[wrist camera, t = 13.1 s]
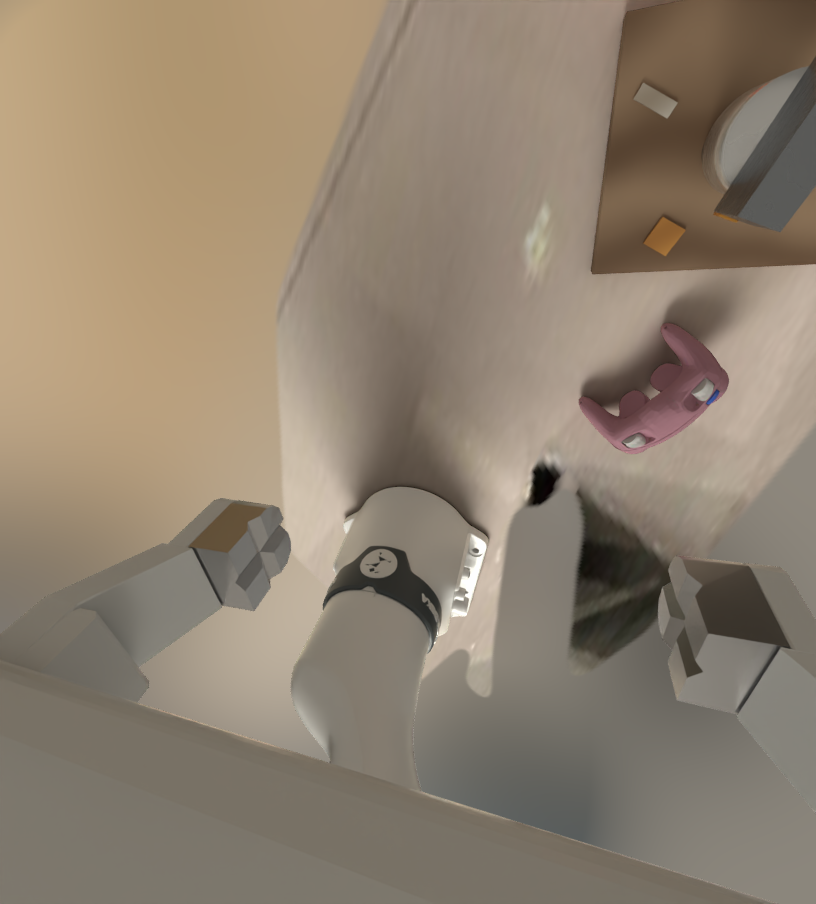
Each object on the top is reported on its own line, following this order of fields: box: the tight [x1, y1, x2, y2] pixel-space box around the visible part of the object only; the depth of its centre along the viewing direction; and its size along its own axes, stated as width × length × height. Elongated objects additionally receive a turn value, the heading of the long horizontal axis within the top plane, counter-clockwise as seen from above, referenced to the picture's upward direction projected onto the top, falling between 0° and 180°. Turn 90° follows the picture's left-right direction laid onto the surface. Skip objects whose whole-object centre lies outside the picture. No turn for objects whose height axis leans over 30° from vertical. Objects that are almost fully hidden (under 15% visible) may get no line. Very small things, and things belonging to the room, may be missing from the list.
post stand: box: [591, 0, 816, 274], centre depth 25 cm, size 14×14×5 cm
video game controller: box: [579, 323, 729, 454], centre depth 34 cm, size 10×5×7 cm, turn 147°
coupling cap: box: [702, 56, 816, 232], centre depth 20 cm, size 7×5×7 cm
